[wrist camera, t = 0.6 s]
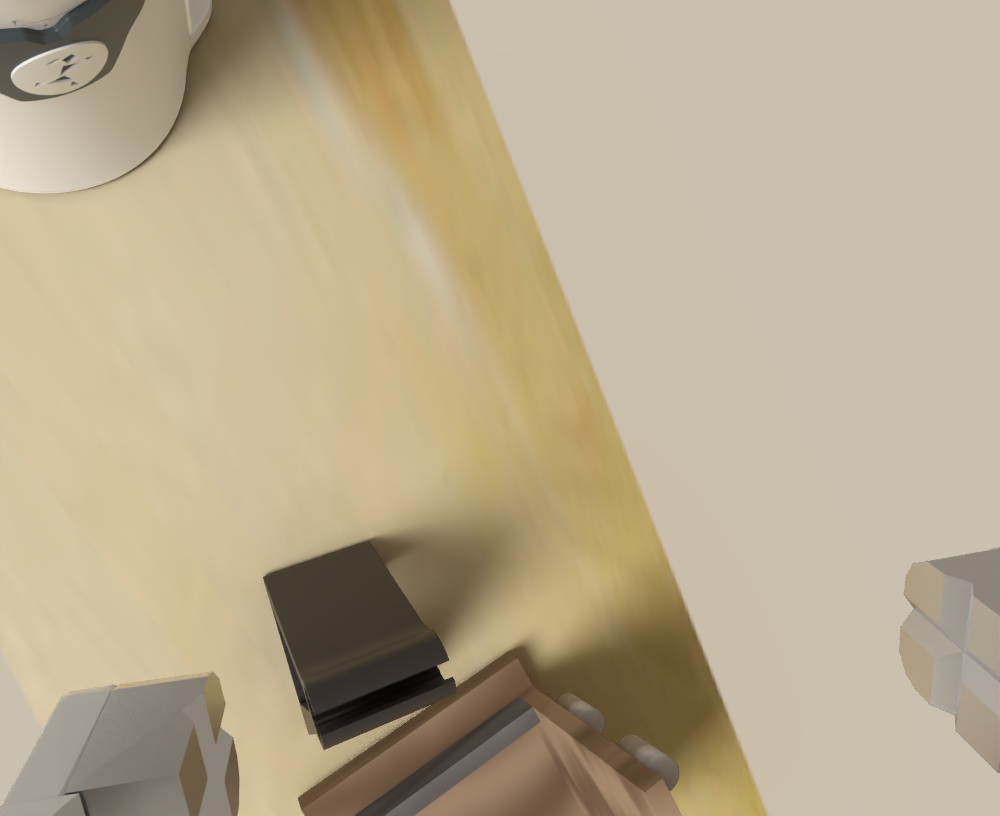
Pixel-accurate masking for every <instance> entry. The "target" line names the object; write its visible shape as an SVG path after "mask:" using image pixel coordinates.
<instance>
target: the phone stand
mask: <svg viewBox="0 0 1000 816" xmlns="http://www.w3.org/2000/svg"><path fill="white" fill-rule="evenodd" d="M263 579H264V583H265V586H266V590H267V593H268V597H269V600H270V604H271V607H272V610H273V614H274V617H275V621H276V624H277V627H278V631H279V634H280V638H281V641H282V645H283V648H284V651H285V654H286V658H287V662H288V665H289V669H290V672H291V675H292V679H293V682H294V686H295V689H296V693H297V696H298V699H299V703H300V706H301V710H302V713H303V717H304V720H305V723H306V727H307V730H308V733H309V735H310V734H317V736H318V738H319V740H320V743H321V745H322V748H323V750H325V749H327V748H330V747H332V746H334V745H337V744H339V743H342V742H344V741H346V740H349V739H351V738H353V737H356V736H358V735H360V734H363V733H365V732H368V731H370V730H372V729H375V728H377V727H379V726H382V725H384V724H386V723H389V722H391V721H394V720H396V719H398V718H401V717H403V716H405V715H408V714H410V713H412V712H415V711H417V710H420V709H422V708H424V707H427V706H429V705H431V704H434V703H436V702H438V701H441V700H443V699H446V698H448V697H450V696H453V695H455V693H456V685H455V680H454V679H453V677H451V678H449V679H446V680H444V679H443V677H442V675H441V673H440V670H439V669H438V667H437V665H439V664H441V663H444V662H446V661H449V659H448V656H447V653H446V651H445V649H444V646H443V644H442V642H441V640H440V639H439V637H438V635H437V634H436V633H435V632H434V631H433V630H430V629H429V628H427V627H426V626H425V625H424V623H423V622H422V621H421V619H420V618H419V616H418V615H417V613H416V612H415V610H414V609H413V607H412V606H411V604H410V603H409V601H408V600H407V598H406V597H405V595H404V594H403V592H402V591H401V589H400V588H399V586H398V585H397V583H396V581H395V580H394V578H393V577H392V575H391V574H390V572H389V571H388V569H387V568H386V566H385V565H384V563H383V562H382V560H381V559H380V557H379V556H378V554H377V553H376V551H375V550H374V548H373V547H372V545H371V544H370V542H369V541H368V542H365V543H362V544H359V545H356V546H353V547H350V548H347V549H345V550H342V551H339V552H336V553H333V554H330V555H327V556H324V557H321V558H318V559H315V560H312V561H309V562H306V563H303V564H300V565H297V566H294V567H291V568H288V569H285V570H282V571H279V572H276V573H273V574H270V575H267V576H265V577H263Z"/></svg>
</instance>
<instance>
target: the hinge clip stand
mask: <svg viewBox="0 0 1000 816" xmlns="http://www.w3.org/2000/svg"><path fill="white" fill-rule="evenodd" d="M604 728H605V718H604V716H603V714H602V713H601V712H600V711H599V710H597V709H595V708H594V707H592V706H591V705H589V704H588V703H586V702H585V701H583V700H582V699H580V698H579V697H577V696H576V695H574V694H572V693H565V694H563V695H561V696H560V697H559V698H558V699H557V701H556V702H554V701H553V700H551V699H550V698H549V697H547V696H546V695H544V694H543V693H542V692H540V691H539V690H537V689H536V688H534V687H533V685H532V684H531V682H530V680H529V678H528V676H527V674H526V672H525V670H524V669H523V667H522V665H521V663H520V661H519V659H518V658H517V657H516V656H514V655H513V654H511V653H510V652H507V653H506V654H504V655H503V656H501V657H500V658H498V659H497V660H496V661H494V662H493V663H491V664H490V665H488V666H487V667H486V668H484V669H483V670H481V671H480V672H478V673H477V674H476V675H474V676H473V677H471V678H470V679H468V680H467V681H465V682H464V683H463V684H461V685H460V686H458V687H457V688H456V693H455V695H453V696H450V697H448V698H446V699H443V700H441V701H438V702H436V703H434V704H432V705H431V706H430V707H428V708H427V709H425V710H424V711H422V712H421V713H420V714H418V715H417V716H415V717H414V718H412V719H411V720H410V721H408V722H407V723H405V724H404V725H402V726H401V727H399V728H398V729H397V730H395V731H394V732H392V733H391V734H389V735H388V736H387V737H385V738H384V739H382V740H381V741H379V742H378V743H377V744H375V745H374V746H372V747H371V748H369V749H368V750H366V751H365V752H364V753H362V754H361V755H359V756H358V757H356V758H355V759H354V760H352V761H351V762H349V763H348V764H346V765H345V766H344V767H342V768H341V769H339V770H338V771H336V772H335V773H333V774H332V775H331V776H329V777H328V778H326V779H325V780H323V781H322V782H321V783H319V784H318V785H316V786H315V787H313V788H312V789H311V790H309V791H308V792H306V793H305V794H303V795H302V796H300V797H299V798H298V800H299V804H300V807H301V810H302V812H303V813H304V815H305V816H682V815H681V813H680V811H679V809H678V807H677V805H676V803H675V801H674V799H673V797H672V795H671V793H670V791H671V790H672V789H673V788H674V787H675V785H676V784H677V781H678V778H679V767H678V765H677V763H676V761H675V760H674V759H672V758H671V757H669V756H668V755H666V754H665V753H663V752H661V751H660V750H658V749H657V748H655V747H654V746H652V745H651V744H649V743H648V742H646V741H645V740H643V739H641V738H640V737H638V736H637V735H633V734H631V735H627V736H625V737H623V738H622V739H621V740H620V741H619V743H618V744H617V745H615V744H614V743H612V742H611V741H610V740H608V739H607V738H605V737H604V736H602V735H601V734H602V733H603V731H604Z"/></svg>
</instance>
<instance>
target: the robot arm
mask: <svg viewBox="0 0 1000 816" xmlns="http://www.w3.org/2000/svg"><path fill="white" fill-rule="evenodd" d="M211 13H212V0H0V188H3V189H8V190H13V191H20V192H28V193H64V192H71V191H78V190H83V189H87V188H91V187H94V186H98V185H101V184H103V183H106V182H109V181H111V180H113V179H116V178H118V177H120V176H121V175H123V174H125V173H127V172H129V171H130V170H132V169H133V168H135V167H136V166H138V165H139V164H140V163H142V162H143V161H144V160H145V159H146V158H147V157H149V156H150V155H151V154H152V153H153V152H154V151H155V150H156V149H157V147H158V146H159V145H160V144H161V143H162V141H163V140H164V139H165V137H166V136H167V134H168V133H169V131H170V129H171V128H172V126H173V124H174V122H175V120H176V118H177V115H178V113H179V110H180V107H181V104H182V100H183V96H184V91H185V84H186V74H187V64H188V59H189V55H190V51H191V48H192V47H193V46H194V44H195V43H196V41H197V40H198V38H199V37H200V35H201V34H202V32H203V31H204V29H205V27H206V25H207V23H208V21H209V19H210V17H211ZM904 595H905V597H906V598H907V599H908V601H909V602H910V604H911V605H912V606H913V608H914V610H913V611H912V612H911V613H910V615H909V616H908V617H907V619H906V620H905V621H904V623H903V624H902V626H901V629H900V648H899V651H900V655H901V658H902V662H903V665H904V669H905V672H906V675H907V676H908V678H909V680H910V681H911V683H912V685H913V686H914V688H915V690H916V691H917V692H918V693H919V694H920V695H921V696H922V697H923V698H924V699H925V700H926V701H927V702H928V703H929V704H930V705H932V706H934V707H936V708H939V709H941V710H943V711H946V712H948V713H950V714H953V715H955V725H956V732H957V733H958V734H959V735H960V736H961V737H962V738H963V739H964V740H966V742H968V744H969V745H970V746H971V747H972V748H973V749H974V750H975V751H976V752H978V754H979V755H980V756H981V757H982V758H983V759H984V760H985V761H986V762H987V763H988V764H989V765H991V767H992V768H993V769H994V770H995V771H996V772H997V773H1000V547H999V548H994V549H990V550H988V551H982V552H976V553H971V554H965V555H959V556H954V557H948V558H942V559H936V560H931V561H925V562H919V563H913V564H912V566H911V568H910V570H909V571H908V574H907V575H906V581H905V589H904ZM224 708H225V700H224V696H223V692H222V688H221V685H220V681H219V678H218V677H217V676H216V675H215V673H214V672H207V673H199V674H192V675H185V676H177V677H170V678H162V679H155V680H148V681H140V682H133V683H126V684H120V685H118V686H116V685H110V686H104V687H98V688H92V689H85V690H79V691H73V692H70V693H68V694H66V695H64V696H63V697H61V698H60V700H59V701H58V703H57V705H56V707H55V708H54V710H53V712H52V714H51V716H50V718H49V719H48V721H47V723H46V725H45V727H44V729H43V730H42V732H41V734H40V736H39V738H38V740H37V741H36V743H35V745H34V747H33V749H32V751H31V752H30V754H29V756H28V758H27V760H26V762H25V764H24V765H23V767H22V769H21V771H20V773H19V774H18V776H17V778H16V780H15V782H14V784H13V785H12V787H11V789H10V791H9V793H8V795H7V796H6V798H5V800H4V802H3V804H2V806H0V816H237V814H238V808H239V770H238V761H237V754H236V749H235V744H234V740H233V737H232V736H230V735H229V734H228V733H226V732H225V731H224V730H223V729H221V728H220V726H221V721H222V717H223V713H224Z"/></svg>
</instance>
